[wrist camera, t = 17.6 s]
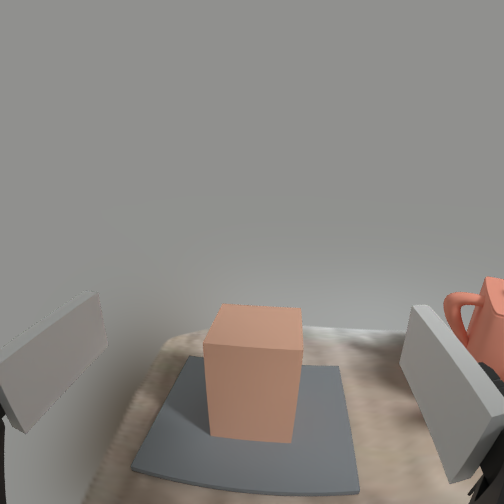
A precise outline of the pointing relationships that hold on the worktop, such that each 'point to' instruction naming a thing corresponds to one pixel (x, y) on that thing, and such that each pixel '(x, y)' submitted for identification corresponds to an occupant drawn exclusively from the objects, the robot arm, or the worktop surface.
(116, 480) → the worktop surface
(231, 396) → the block
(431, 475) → the worktop surface
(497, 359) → the teapot
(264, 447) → the mat
